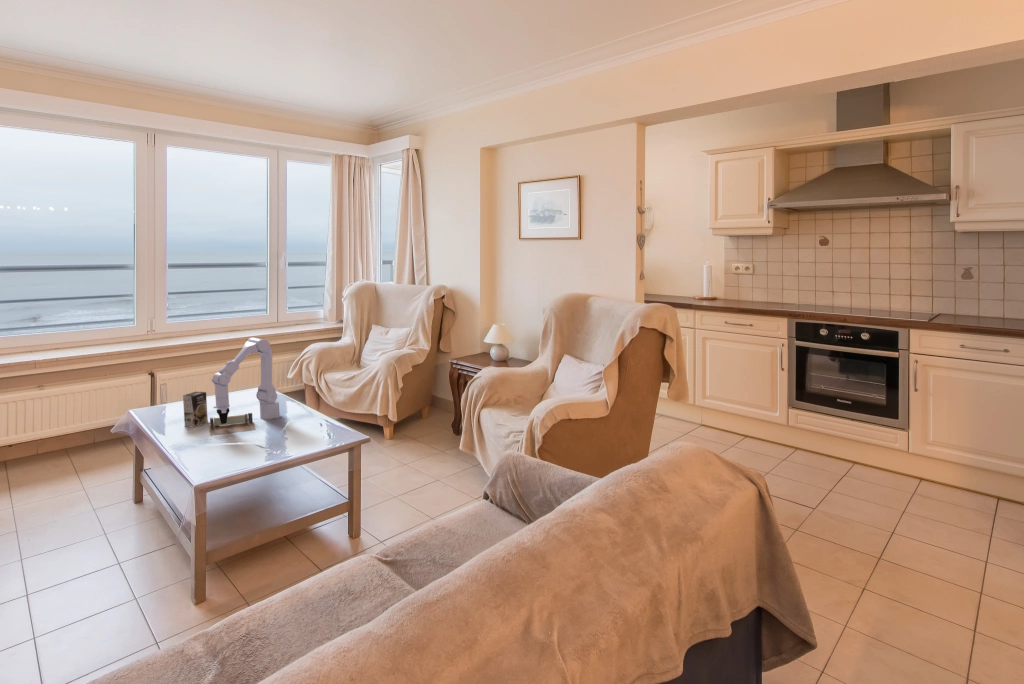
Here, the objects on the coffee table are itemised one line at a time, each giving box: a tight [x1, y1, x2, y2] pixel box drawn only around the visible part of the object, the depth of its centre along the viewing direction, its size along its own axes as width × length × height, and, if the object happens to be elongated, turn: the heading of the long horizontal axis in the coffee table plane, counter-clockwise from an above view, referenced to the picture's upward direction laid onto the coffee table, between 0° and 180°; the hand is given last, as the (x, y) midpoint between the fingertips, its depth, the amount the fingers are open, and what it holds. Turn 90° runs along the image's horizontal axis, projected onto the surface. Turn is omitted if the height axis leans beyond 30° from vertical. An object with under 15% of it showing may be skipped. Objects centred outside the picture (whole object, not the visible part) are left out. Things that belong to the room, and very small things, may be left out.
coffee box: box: [182, 391, 209, 428], centre depth 283 cm, size 9×6×16 cm
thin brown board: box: [207, 412, 257, 437], centre depth 280 cm, size 20×22×6 cm
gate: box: [213, 413, 248, 426], centre depth 283 cm, size 15×2×4 cm, turn 120°
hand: (223, 423), depth 276 cm, fingers closed
